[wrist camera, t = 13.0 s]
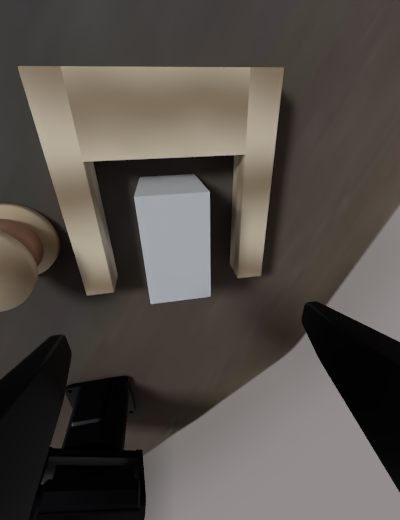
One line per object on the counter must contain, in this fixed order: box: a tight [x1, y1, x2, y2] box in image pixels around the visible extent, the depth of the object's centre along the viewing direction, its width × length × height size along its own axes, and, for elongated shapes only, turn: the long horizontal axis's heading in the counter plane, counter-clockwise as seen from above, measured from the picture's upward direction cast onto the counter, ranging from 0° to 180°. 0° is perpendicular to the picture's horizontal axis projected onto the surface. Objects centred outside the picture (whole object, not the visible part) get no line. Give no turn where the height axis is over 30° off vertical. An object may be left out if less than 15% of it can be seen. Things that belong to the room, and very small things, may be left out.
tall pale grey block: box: [134, 174, 211, 304], centre depth 17 cm, size 7×4×6 cm, turn 1°
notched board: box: [18, 66, 284, 295], centre depth 17 cm, size 14×14×2 cm
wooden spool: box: [0, 203, 60, 312], centre depth 16 cm, size 6×6×5 cm
